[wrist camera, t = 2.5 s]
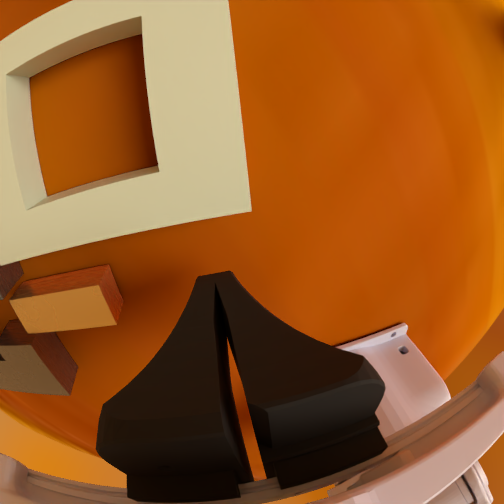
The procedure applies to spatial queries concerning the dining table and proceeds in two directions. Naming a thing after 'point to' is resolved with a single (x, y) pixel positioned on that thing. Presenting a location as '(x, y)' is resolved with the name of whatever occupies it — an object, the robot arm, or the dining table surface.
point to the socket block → (32, 352)
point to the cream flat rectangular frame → (162, 118)
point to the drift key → (68, 301)
